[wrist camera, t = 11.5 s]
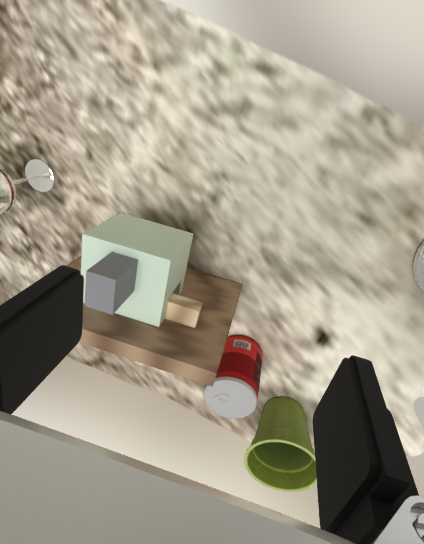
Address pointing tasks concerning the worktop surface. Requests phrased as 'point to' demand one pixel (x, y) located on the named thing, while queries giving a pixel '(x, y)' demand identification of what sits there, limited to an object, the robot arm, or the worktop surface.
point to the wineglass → (37, 174)
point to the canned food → (236, 379)
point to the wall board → (172, 328)
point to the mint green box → (133, 267)
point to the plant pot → (282, 448)
